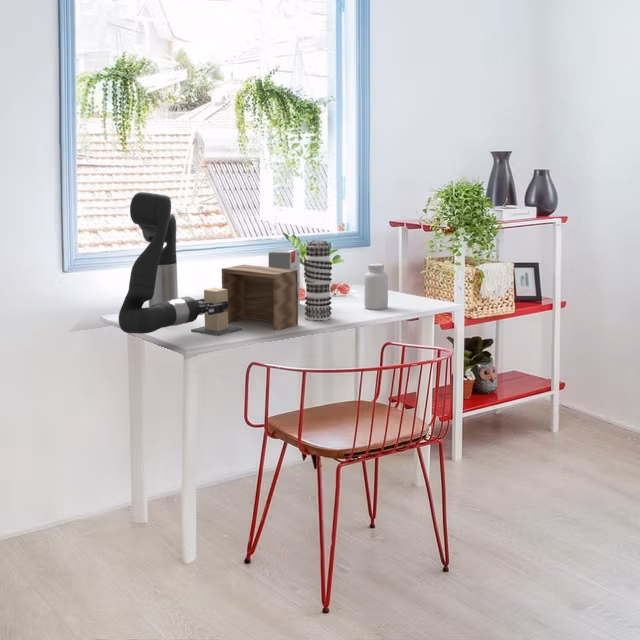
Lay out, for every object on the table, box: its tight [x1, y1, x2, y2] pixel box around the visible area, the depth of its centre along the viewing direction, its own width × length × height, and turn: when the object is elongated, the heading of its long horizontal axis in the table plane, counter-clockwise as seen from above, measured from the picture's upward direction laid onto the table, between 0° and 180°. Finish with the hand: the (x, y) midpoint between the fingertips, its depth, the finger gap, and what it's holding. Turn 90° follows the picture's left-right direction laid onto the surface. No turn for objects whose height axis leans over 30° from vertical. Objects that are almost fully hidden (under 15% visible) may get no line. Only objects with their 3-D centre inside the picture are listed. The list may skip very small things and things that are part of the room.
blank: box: [203, 287, 229, 331], centre depth 289 cm, size 5×5×12 cm
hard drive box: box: [268, 247, 301, 305], centre depth 326 cm, size 16×8×20 cm, turn 168°
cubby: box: [221, 264, 299, 331], centre depth 299 cm, size 11×22×17 cm, turn 54°
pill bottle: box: [364, 262, 389, 311], centre depth 324 cm, size 8×8×15 cm
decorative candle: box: [303, 239, 333, 322], centre depth 306 cm, size 9×9×25 cm
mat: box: [190, 324, 244, 337], centre depth 291 cm, size 11×11×1 cm
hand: (216, 303), depth 289 cm, fingers open, 8 cm apart
